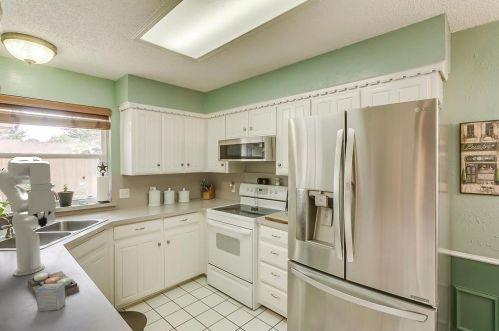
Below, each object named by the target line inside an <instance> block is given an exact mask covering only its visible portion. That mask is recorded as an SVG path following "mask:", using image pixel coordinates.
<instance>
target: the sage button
mask: <svg viewBox="0 0 499 331" xmlns="http://www.w3.org/2000/svg"><path fill="white" fill-rule="evenodd" d="M71 279H72V278H71V277H69V278H65V279H61V280H59V281H58V282H57V284H59V283H64V287H65V286H68V285H71Z"/></svg>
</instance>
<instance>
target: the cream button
mask: <svg viewBox="0 0 499 331" xmlns="http://www.w3.org/2000/svg"><path fill="white" fill-rule="evenodd" d="M48 273H49V272H40V273H37V274H36V275H34V276H33V278H34V282H38V281H41V280H45V279H47V278H48Z"/></svg>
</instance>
